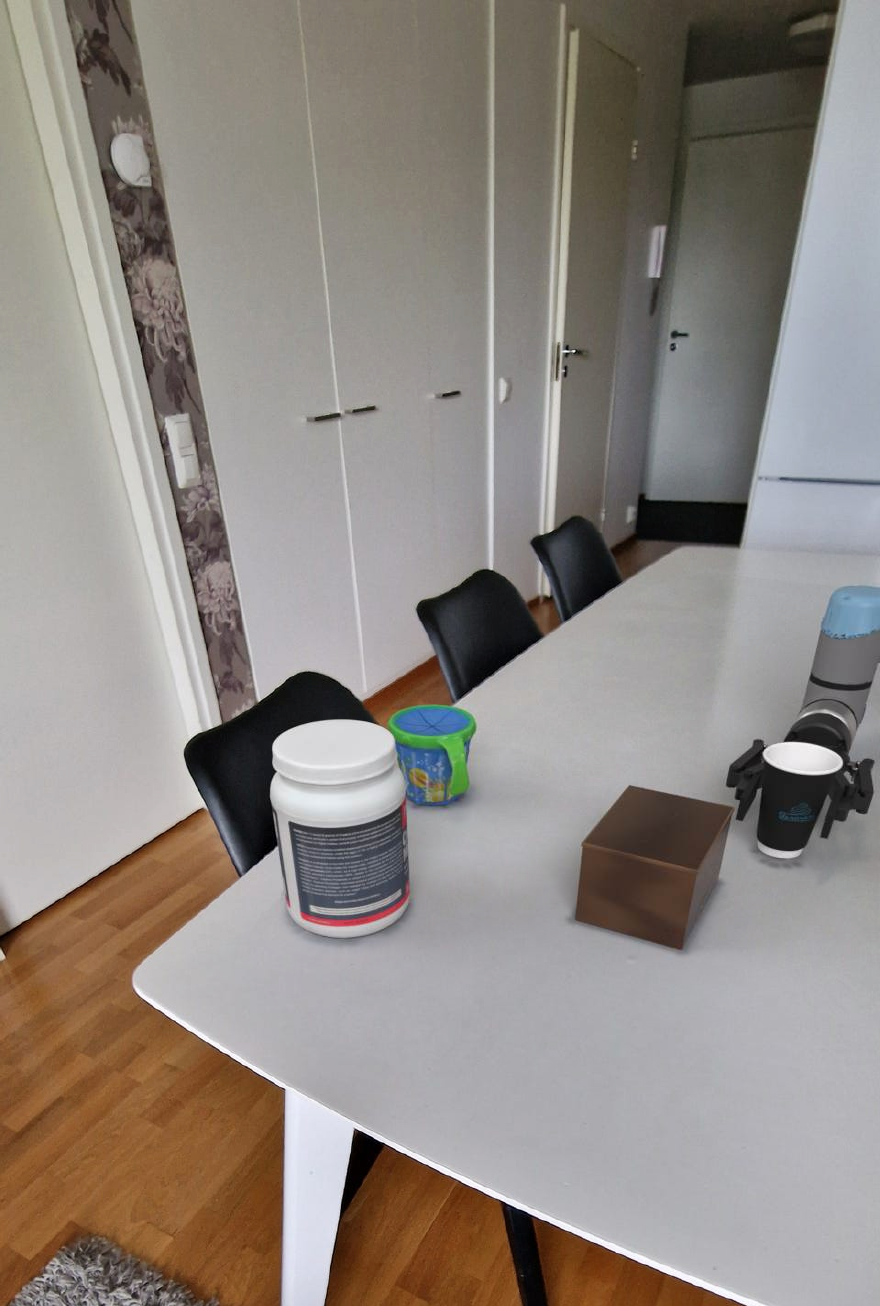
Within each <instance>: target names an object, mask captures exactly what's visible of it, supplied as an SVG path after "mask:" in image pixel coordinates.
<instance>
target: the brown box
mask: <svg viewBox="0 0 880 1306" xmlns="http://www.w3.org/2000/svg"><path fill="white" fill-rule="evenodd" d="M735 809H736V806H730V805H727V804H721V803H716V802H713V801H707V800H702V799H699V798H698V799H697V798H692V797H689V796H683V795H680V794H679V795H678V794H675V793H669V792H665V791H659V790H655V789H650V788H647V787H641V786H637V785H631V784H629V785H628V786H627V787H626V788H625V790H624V791H623V792H622V793H621V794H620V796H619V797H618V798H617V799H616V801H615V802H613V804H612V805H611V807H610V808H609V809H608V810H607V811H606V813H605V814H604V815H603V816H602V817H601V818H600V820H599V821H598V822H597V823H596V825H595V826H594V827H593V828H592V829H591V830H590V832H589V833H588V834H587V836H586V837H585V838H584V839H583V840H582V842H581V843H580V846H581V858H580V860H581V861H580V868H579V878H578V888H577V897H576V907H575V915H574V920H575V921H578V922H582V923H584V924H588V925H592V926H595V927H598V928H602V929H604V930H609V931H613V932H617V933H620V934H623V935H628V936H631V937H634V938H638V939H641V940H644V941H648V942H652V943H655V944H658V945H662V946H666V947H670V948H672V949H676V950H680V951H682V950H683V949H684V947H685V944H686V943H687V941H688V940H689V937H690V936H691V934H692V931H693V930H694V927H695V925H696V924H697V922H698V920H699V918H700V916H701V915H702V913H703V911H704V909H705V907H706V905H707V903H708V901H709V899H710V897H711V895H712V894H713V891H714V889H715V887H716V886H717V884H718V882H719V878H720V872H721V867H722V864H723V859H724V854H725V850H726V845H727V842H728V836H729V832H730V828H731V827H730V826H731V822H732V818H733V814H734V812H735Z"/></svg>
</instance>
